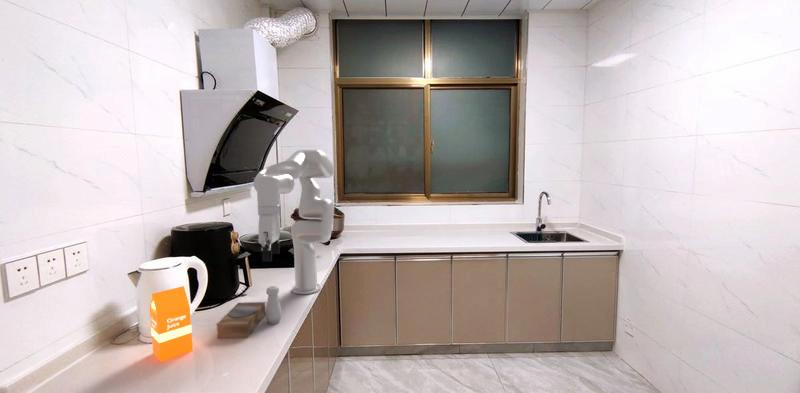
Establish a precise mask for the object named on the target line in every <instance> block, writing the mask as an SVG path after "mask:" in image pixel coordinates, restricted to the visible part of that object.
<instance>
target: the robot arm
mask: <svg viewBox="0 0 800 393" xmlns="http://www.w3.org/2000/svg"><path fill="white" fill-rule="evenodd" d="M334 171H335V168H334V163H333V162H332V160H331V159H330V158H329V156H328V155H327V154H326V153H325V152H324V151H323V150H320V149H300V150H296V151H294V153H291V155H290V156H289V157H288V158H287V159H285V160H284V161H281V162H277V163H275V164H272V165H269V166H267V167H264V168H263V169H261V170H260V171H259V172H258V173H257V174H256V176H255V177H254V179H253V188H254V190H255V191H256V196H257V197H256V198H257V216H259V218H258V244H260V248H261V260H262V263H263V262H264V263H265V262H267V263H269V262H272V261H273V255H280V254H281V246H280V235H281V227H280V216H279V215H282V214H281V211H282V210H281V195H287V194H290V193H291V192H292V191H293V190H294V188H295V184H296V183H295V180H297V179H298V180H299V183H300V186H301V194H300V200H299V204H298V215H299V217H300V218H301V219H304V220H297V221H295V222H294V223H293V224H292V225H291V228H290V233H291V239H292V244H293V252H294V256H293V258H294V260H293V261H294V279H295V280H294V282H295V284H294V285H293V286H292V288H291V292H292V293H293V294H295V295H296V294H297V295H312V294H315V293H317V292H319V291H320V290H321V284H319V283H318V275H317V274H318V271H317V270H318V268H317V250H316V247H315V246H314V244H313V243H327V242H329V241H330V240H331V236H332V231H333V225H334V224H333V223H334V215H335V204H334V202H333V201H332V199H329V198H321V188H320V186H319V184H318V183H317V181H315V180H314V179H330V178H332V177H333V175H334ZM305 219H306V220H305Z"/></svg>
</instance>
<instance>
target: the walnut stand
mask: <svg viewBox="0 0 800 393" xmlns="http://www.w3.org/2000/svg"><path fill="white" fill-rule="evenodd" d="M265 316H266V301H263V302H262V301H261V302H260V301H258V302H257V301H254V302H252V301H251V302H249V301H248V302H238V303H236V304H235V305H234V306H233V307H232V308H231V309H230V310H229V311H228V313H226V314H225V315H224V316H223V317H222V318H221V319H220V320H219V321H218V322H217V323H216V333H217V334H216V335H217V336H216V337H217V339H220V340H221V339H248V338H249V337H250V336H251V335H252V334H253V332H254V331H255V329H256V328H257V327H258V326H259V324H260V323H261V322H262V320H264V318H265Z"/></svg>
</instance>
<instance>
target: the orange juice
mask: <svg viewBox="0 0 800 393" xmlns="http://www.w3.org/2000/svg"><path fill="white" fill-rule="evenodd" d="M149 318H150V333H151V334H150V335H151V340H152V341H151V343H152V353H153V356H155V358H156V359H157V360H158V361H159V362H160V363H163V362H166V361H169V360H172V359H175V358H177V357H180V356H182V355H185V354H189V353H191V352H193V351H194V350H193V349H194V348H193V337H192V336H193V335H192V332H193V331H192V330H193V329H192V321H191V320H192V319H191V306H190V302H189V299H188V296H187V293H186V288H185V286H184V285H183V286H182V285H181V286H179V287H175V288H171V289H170V288H169V289H166V290H163V291H158V292H154V293H152V294H151V299H150V305H149Z"/></svg>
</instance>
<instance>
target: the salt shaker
mask: <svg viewBox="0 0 800 393" xmlns="http://www.w3.org/2000/svg"><path fill="white" fill-rule="evenodd" d="M279 293H280V288H279V287H278V286H276V285H273V286H269V287H267V288H266V294H267V296H268V297H267V303H266V308H265V313H266V315H265V316H264V318H265V319H266V321H267V322H268V324H270V325H275V324H278V323H279V322H280V321H281V319H282V317H283V311H282V307H281V304H280V298H279Z"/></svg>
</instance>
